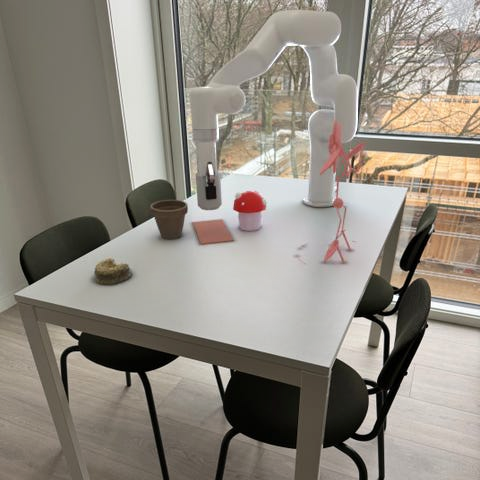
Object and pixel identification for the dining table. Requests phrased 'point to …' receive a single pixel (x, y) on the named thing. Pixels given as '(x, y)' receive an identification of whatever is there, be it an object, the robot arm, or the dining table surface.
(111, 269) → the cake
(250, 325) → the dining table surface
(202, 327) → the dining table surface
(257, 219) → the mushroom
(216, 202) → the can
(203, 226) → the napkin
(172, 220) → the flower pot
